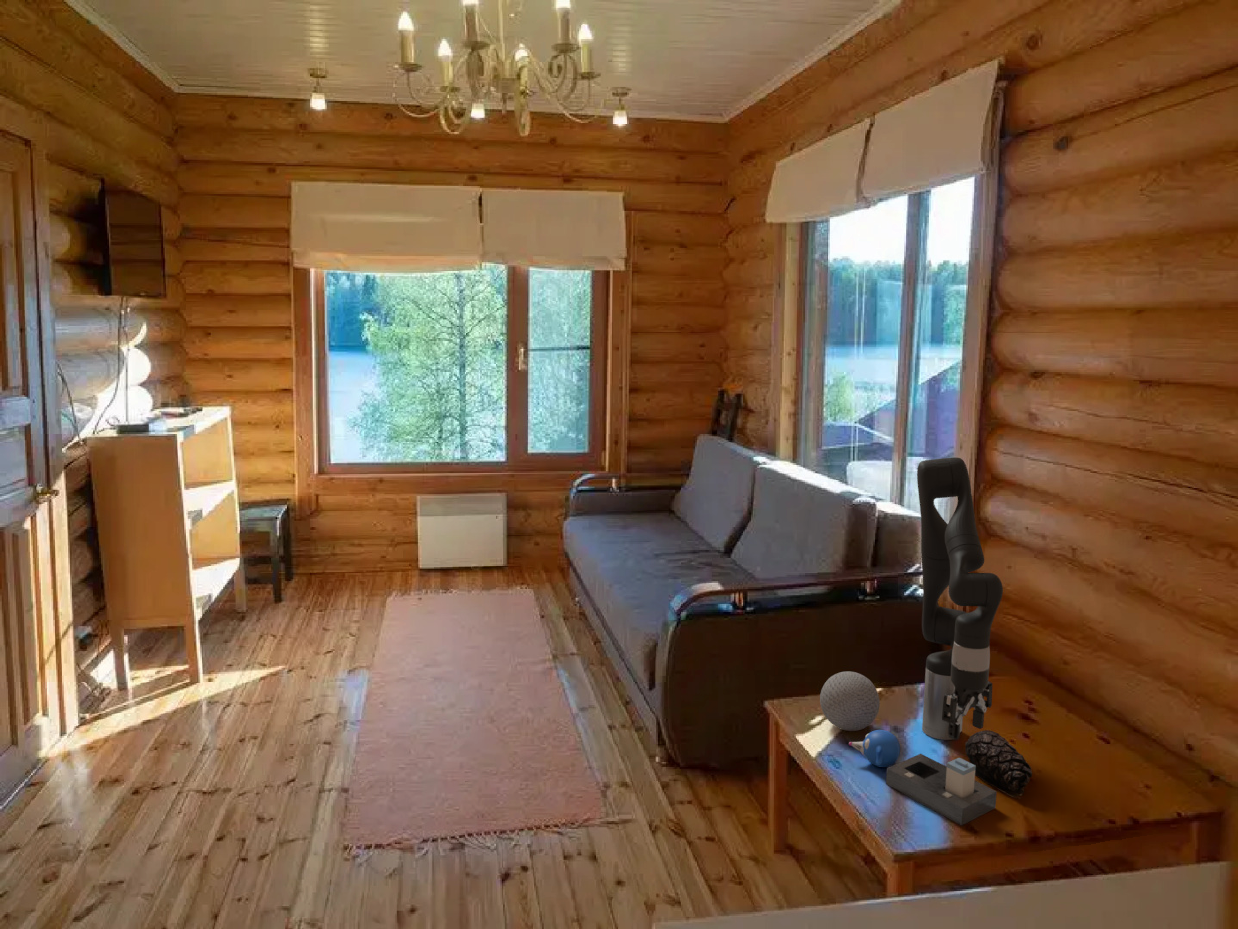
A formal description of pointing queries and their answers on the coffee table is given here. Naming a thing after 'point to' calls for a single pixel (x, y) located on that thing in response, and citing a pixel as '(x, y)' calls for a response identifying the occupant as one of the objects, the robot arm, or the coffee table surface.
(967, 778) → the plug
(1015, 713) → the coffee table surface
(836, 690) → the decorative ball
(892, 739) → the blue mole toy
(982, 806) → the panel
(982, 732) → the pine cone
